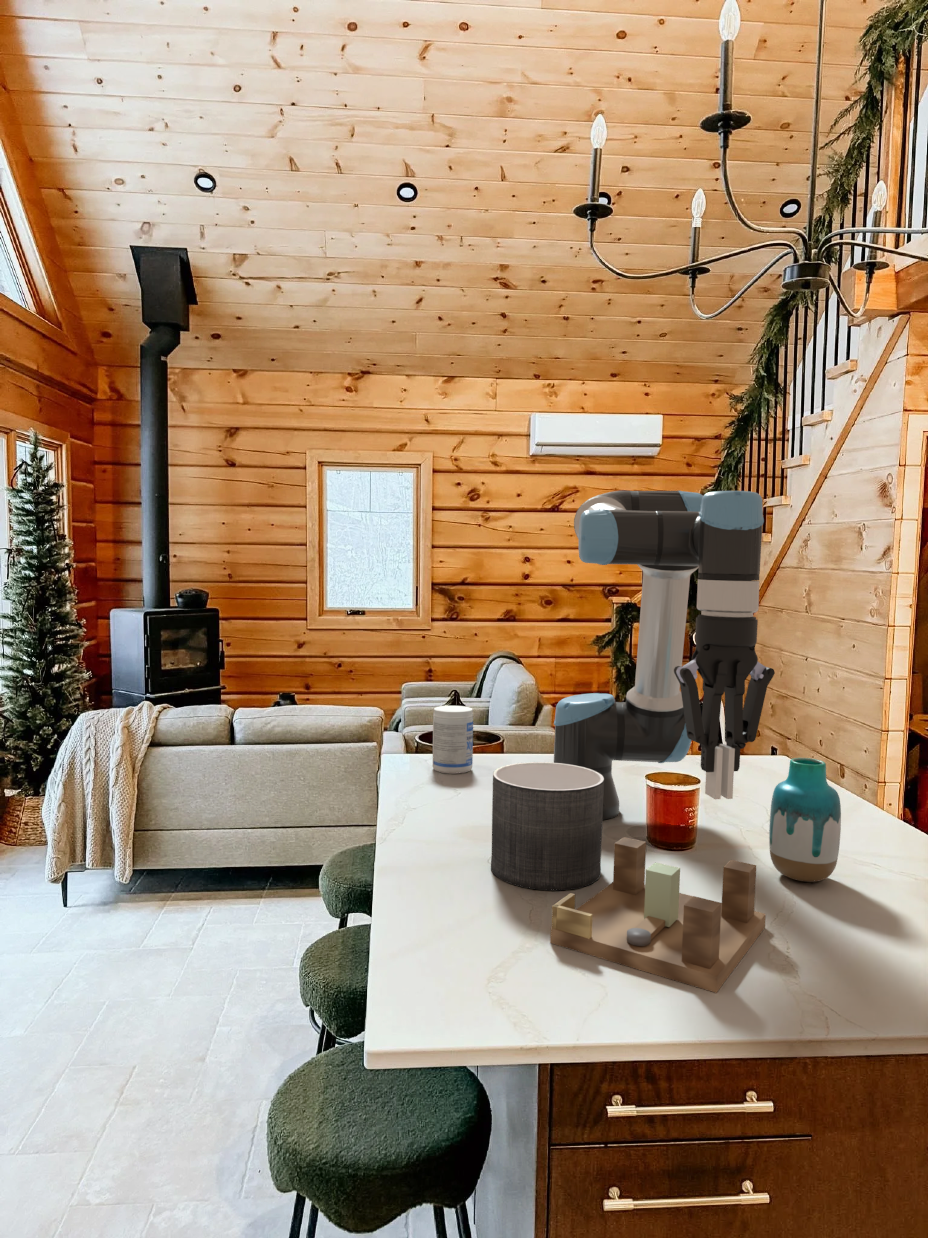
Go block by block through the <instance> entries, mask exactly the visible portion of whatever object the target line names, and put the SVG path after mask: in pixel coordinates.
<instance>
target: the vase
mask: <svg viewBox="0 0 928 1238" xmlns="http://www.w3.org/2000/svg"><path fill="white" fill-rule="evenodd" d="M787 774H788V775H787V778H786V779H785V780H783V781H781V782H778V783H777V784H776V786H775V787H774V789H773V792H772V797H771V804H770V810H769V811H770V812H769V813H770V814H769V824H768V825H769V826H768V827H769V829H768V833H769V834H768V836H769V837H768V845H769V855H770V859H771V863H772V865H773V866H774V867H775V869H776V870H777V872H779V873H780V874H781V875H783V876H785V877H787V878H789V879H792V880H796V881H799V882H807V883H811V882H812V883H813V882H820V881H823V880H826V879H828V878H829V877H830V876H831V875H832V874H833V873H834V871H835V869H836V866H837V864H838V858H839V851H840V842H841V831H842V830H841V827H842V824H841V823H842V810H841V807H842V806H841V798H840V795H839V793H838V791H837V790H836V789H835V788H834V787H832V786H830V785H829V784H828V781H827V763H826V762H825V761H823V760H821V759H816V758H809V757H793V758H791V759H790V760H789V768H788V773H787Z"/></svg>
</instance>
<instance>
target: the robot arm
mask: <svg viewBox="0 0 928 1238" xmlns="http://www.w3.org/2000/svg"><path fill="white" fill-rule="evenodd" d="M763 506H764V505H763V498H762V496H761V494H759V493H758V492H755V491H749V490H717V491H716V490H715V491H709V492H706V493H705V494H701V493H698V492H692V491H685V490H683V491H682V490H613V491H609V492H605V493H602V494H597V495H594V496H593V497H590V498H588V499H587V500H586V501H584V502H583V503H582V504H581V505H580V506H579V507H578V509H577V510H576V512H575V515H574V519H573V528H574V533H575V536H576V537H577V539H578V557H579V560H581V562H582V563H586V564H597V565H599V566H606V565H637V567H639V568H640V570H641V571H642V586H641V599H640V612H639V613H640V614H639V628H638V639H637V640H638V641H637V654H636V669H635V678H634V679H635V681H634V686H633V687H632V688H630V689H628V691H627V692H626V696H625V702H624V701H621V702H620V701H616V699H615V696H614V695H612V694H610V693H600V692H593V693H581V694H574V695H570V696H566V697H564V698H561V700H559V701H558V703H557V704H556V706H555V715H554V722H553V725H554V741H553V742H554V745H553V763H562V764H569V765H575V766H580V767H584V768H588V769H591V770H594V771H596V772H598V773H600V774H601V775H602V776H603V777H604V794H603V818H602V821H603V820H609V819H613V818H614V817H617V816H618V815H619V814H620V799H619V796H618V792H617V789H616V786H615V785H616V784H615V782H614V778H613V774H612V773H613V772H612V769H613V761H623V762H643V763H645V762H647V763H658V764H664V763H678V762H681V761H682V760H684V759H685V757H686V756H687V755H688V752H689V750H690V747H691V744H692V741H693V742H695V743H698V744H699V745H700V749H701V750H700V768H701V770H703V772H705V785H704V787H705V788H704V794H705V795H706V796H709V797H710V798H712V799H713V800H721V799H722V797H723V798H725V799H727V800H731V799H732V800H733V797H734V772H738V771H739V769H740V762H741V750H743V749H745V748H746V745H747V743H753V742H755V741H756V738H757V734H758V729H759V725H760V721H761V717H762V712H763V708H764V703H765V698H766V694H767V690H768V686H769V684H770V683H771V681H772V679H773V678H774V676H775V669H774V668H771V667H769V666H766V665H764V664H763V663H761V662H760V661H758V660H759V658H758V655H757V653H756V650H755V649H756V644H757V643H758V623H759V622H758V621H759V620H758V619H757V617H756V616H754V613H757V612H758V611H759V608H760V607H759V605H760V604H759V603H760V572H761V558H762V538H763V525H764V523H765V519H764V515H763V514H764V513H763V511H764V509H763V508H764V507H763ZM697 570H698V575H697V589H696V590H697V593H696V609H697V610H698V611H700V613H701V614H697V616H696V617H695V634H694V635H695V637H694V641H695V649H694V651H693V653H692V656H691V660H690V661H689V662H687V663H686V664H684V665H683V657H684V644H685V633H686V624H687V615H688V614H687V613H688V611H687V610H688V600H689V593H690V592H689V591H690V580H691V575H692V574H693V573H694V572H696V571H697ZM697 672H698V673H699V676H700V677H701V678H702V691H703V700H702V710H701V702H700V696H699V689H698V685H697V681H696V679H697V678H698V674H697ZM749 675H750V679H749V682H748V686H747V690H746V680H747V678H748V677H749ZM745 691H746V694H745ZM723 695H724V742H725V743H718V740H719V732H720V731H719V730H720V719H721V707H722V697H723ZM744 695H745V698H744Z"/></svg>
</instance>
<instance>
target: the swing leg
mask: <svg viewBox="0 0 928 1238" xmlns="http://www.w3.org/2000/svg"><path fill="white" fill-rule="evenodd" d="M680 878H681V867H677V866H673V865H669V864H664V863H660V862H654V863H653V864H652V865H650V866H649V867H648V868H645V883H644V885H645V907H644V920H643V921H642V922H641V923H640V924H638V925H637V926H636V927H635V928H631V929H629V930H627V942H628V943H630V944H632V945H636V946H647V945H649V944H650V943H651V939H652V938H653V937H654V936H655V935H656V934H658V933H659V932H660V931H661V930H662V929H663V928H664V927H665V926H666V927H670V926H671V925H672V924H673V923H674V922H675V921H676V920H677V919H678V910H679V893H680V885H681V884H680V881H681V879H680Z"/></svg>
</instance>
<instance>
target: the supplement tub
mask: <svg viewBox="0 0 928 1238" xmlns="http://www.w3.org/2000/svg"><path fill="white" fill-rule="evenodd" d="M473 712H474V711H473V708H472V707H469V706H464V705H441V706H436V707H434V708H433V717H432V768H433V770H434V771H437V772H438V773H442V774H452V775H453V774H463V773H464V774H465V773H467V772H470V771H471V770H472V769H473V756H474V754H473V753H474V750H473V749H474V744H473V743H474V713H473Z"/></svg>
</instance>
